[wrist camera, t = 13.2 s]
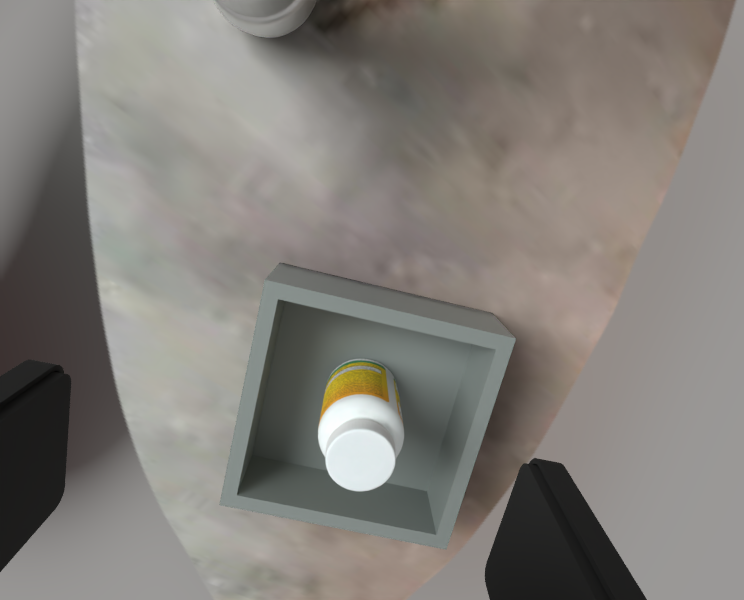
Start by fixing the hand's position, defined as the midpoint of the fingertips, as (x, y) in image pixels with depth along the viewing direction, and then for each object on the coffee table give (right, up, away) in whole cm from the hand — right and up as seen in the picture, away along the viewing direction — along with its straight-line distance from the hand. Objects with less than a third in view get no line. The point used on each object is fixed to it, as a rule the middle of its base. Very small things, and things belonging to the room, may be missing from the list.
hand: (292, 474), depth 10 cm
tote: (+1, -3, +29) cm, 29 cm away
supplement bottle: (+1, -3, +28) cm, 28 cm away
